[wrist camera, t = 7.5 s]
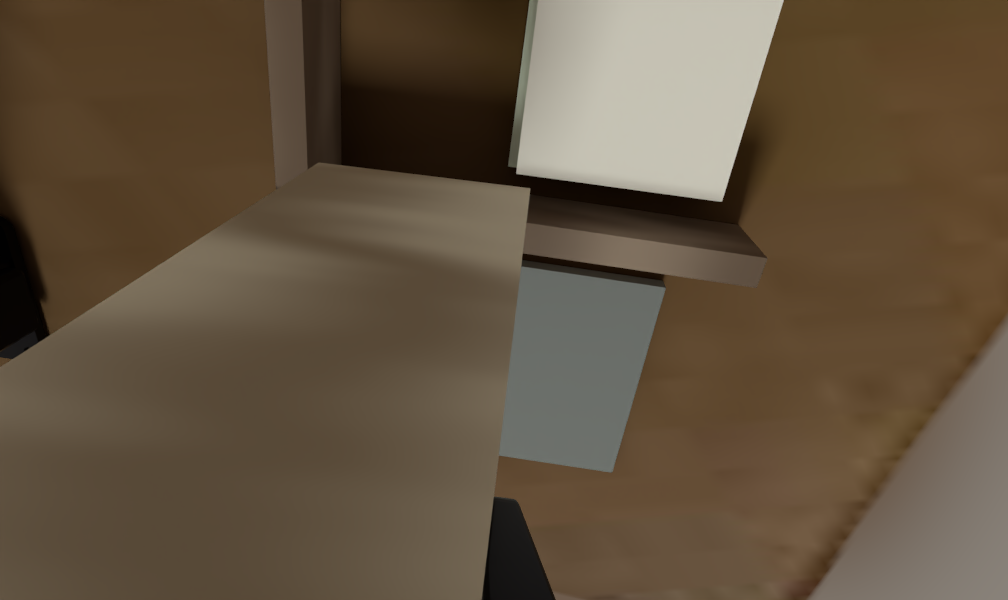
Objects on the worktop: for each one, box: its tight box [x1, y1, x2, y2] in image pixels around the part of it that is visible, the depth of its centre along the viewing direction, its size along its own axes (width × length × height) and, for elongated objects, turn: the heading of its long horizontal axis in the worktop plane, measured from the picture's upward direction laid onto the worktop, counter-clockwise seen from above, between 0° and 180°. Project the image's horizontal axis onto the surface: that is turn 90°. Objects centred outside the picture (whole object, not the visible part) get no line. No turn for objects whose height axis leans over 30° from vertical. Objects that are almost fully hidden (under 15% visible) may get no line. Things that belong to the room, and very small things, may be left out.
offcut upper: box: [516, 0, 784, 202], centre depth 16 cm, size 6×9×1 cm
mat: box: [499, 260, 666, 472], centre depth 23 cm, size 12×9×1 cm
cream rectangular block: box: [0, 163, 530, 600], centre depth 8 cm, size 4×8×9 cm, turn 174°
